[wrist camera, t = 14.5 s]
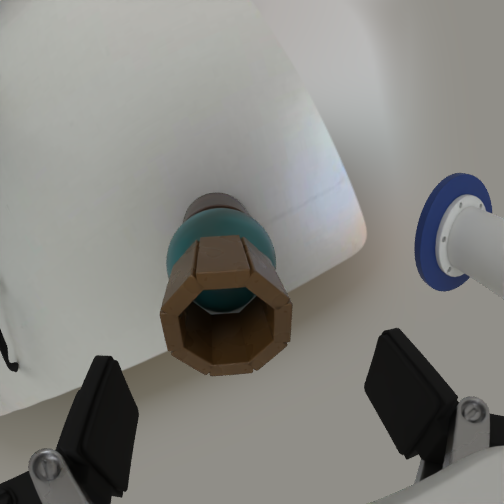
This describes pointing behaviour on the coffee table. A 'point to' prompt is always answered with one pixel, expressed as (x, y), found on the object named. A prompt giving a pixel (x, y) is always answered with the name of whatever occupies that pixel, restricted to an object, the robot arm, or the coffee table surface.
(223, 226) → the ball stand
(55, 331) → the coffee table surface
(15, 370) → the glasses
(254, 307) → the bronze ring
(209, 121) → the coffee table surface
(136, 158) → the coffee table surface
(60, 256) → the coffee table surface
